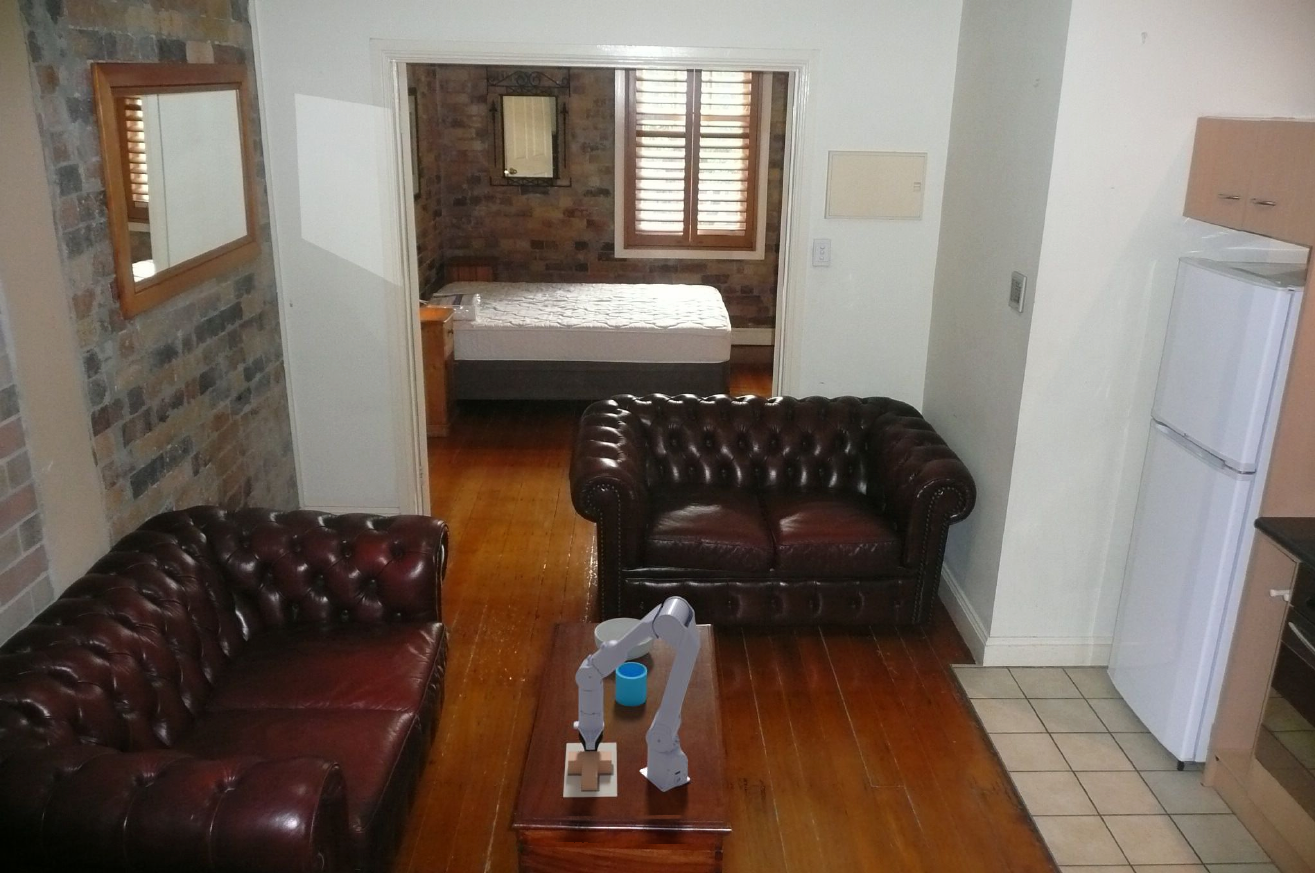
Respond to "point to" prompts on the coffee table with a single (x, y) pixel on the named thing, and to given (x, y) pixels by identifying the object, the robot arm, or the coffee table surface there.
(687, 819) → the coffee table surface
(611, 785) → the push mat
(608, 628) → the cereal bowl
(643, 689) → the mug
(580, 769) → the t block
